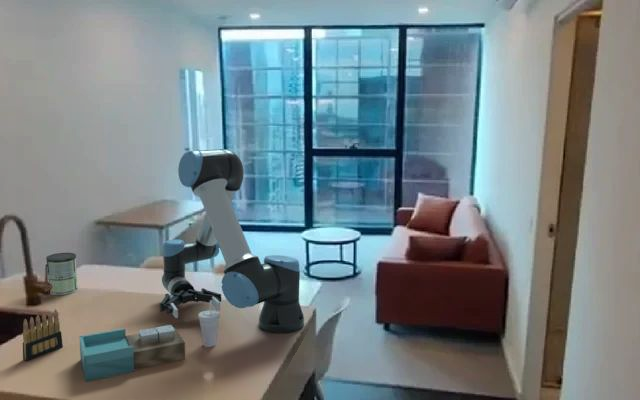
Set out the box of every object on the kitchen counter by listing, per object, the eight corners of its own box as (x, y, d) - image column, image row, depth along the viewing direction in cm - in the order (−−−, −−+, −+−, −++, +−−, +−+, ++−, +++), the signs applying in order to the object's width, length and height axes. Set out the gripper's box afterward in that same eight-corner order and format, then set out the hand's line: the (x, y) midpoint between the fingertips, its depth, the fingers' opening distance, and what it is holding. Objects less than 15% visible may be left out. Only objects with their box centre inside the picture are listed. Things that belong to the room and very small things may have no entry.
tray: (125, 350, 147) (124, 328, 146) (134, 371, 136) (133, 346, 135) (80, 359, 142) (79, 336, 140) (85, 381, 130) (83, 356, 129)
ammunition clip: (26, 361, 140) (23, 320, 138) (22, 359, 141) (19, 319, 139) (63, 347, 149) (60, 308, 147) (59, 345, 150) (56, 307, 148)
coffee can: (43, 291, 196) (41, 256, 194) (69, 284, 204) (67, 251, 202) (56, 297, 190) (54, 261, 188) (83, 290, 198) (81, 255, 196)
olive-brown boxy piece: (174, 342, 154) (174, 326, 153) (185, 358, 143) (184, 342, 143) (126, 352, 147) (125, 335, 146) (133, 369, 137) (132, 352, 136)
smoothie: (217, 349, 150) (217, 304, 148) (196, 348, 150) (195, 303, 148) (222, 339, 156) (221, 296, 154) (201, 339, 156) (200, 296, 154)
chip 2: (171, 332, 149) (171, 324, 148) (175, 338, 145) (175, 330, 145) (155, 335, 147) (155, 327, 146) (159, 341, 143) (159, 333, 142)
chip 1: (154, 335, 146) (154, 327, 146) (158, 341, 143) (158, 333, 142) (138, 338, 144) (138, 330, 144) (141, 344, 140) (141, 336, 140)
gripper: (215, 295, 185) (235, 314, 166) (145, 306, 172) (158, 328, 154) (215, 275, 183) (235, 293, 165) (144, 285, 171) (157, 305, 153)
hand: (198, 310), depth 160 cm, fingers open, 13 cm apart
